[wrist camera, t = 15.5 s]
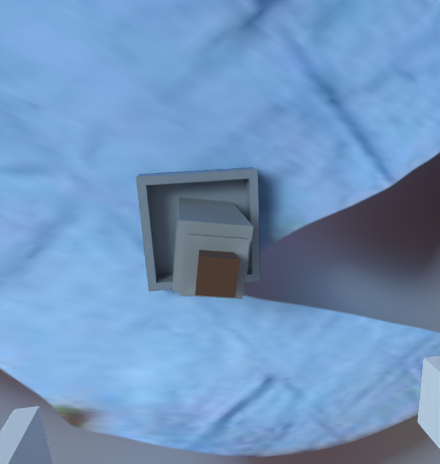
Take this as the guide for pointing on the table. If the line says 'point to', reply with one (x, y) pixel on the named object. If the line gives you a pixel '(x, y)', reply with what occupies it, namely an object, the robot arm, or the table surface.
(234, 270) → the perfume bottle
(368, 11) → the table surface
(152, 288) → the tray
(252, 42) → the table surface
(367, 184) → the table surface
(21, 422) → the robot arm
